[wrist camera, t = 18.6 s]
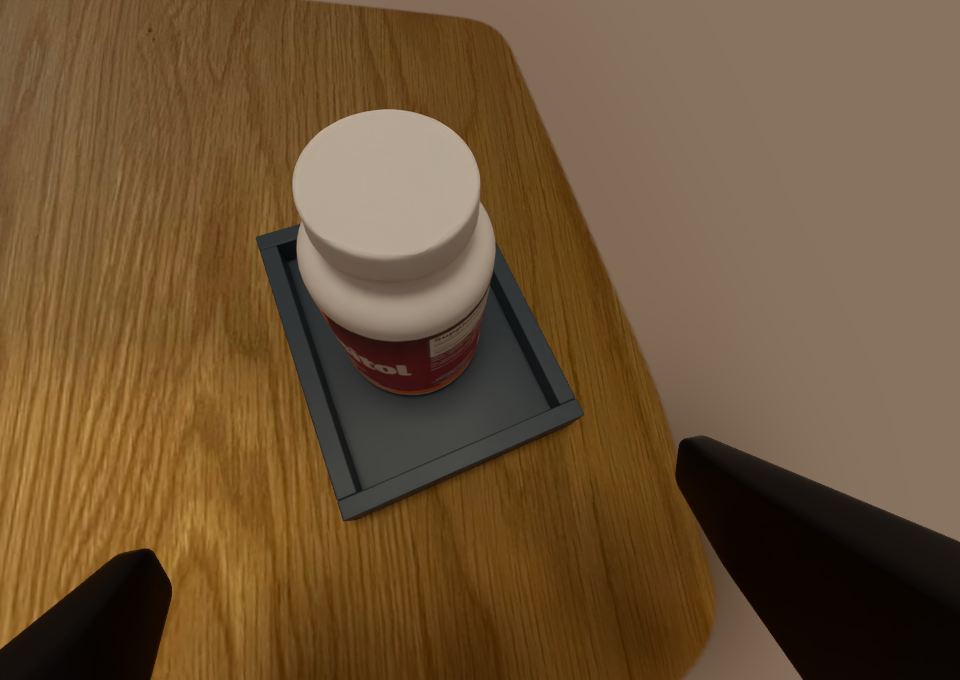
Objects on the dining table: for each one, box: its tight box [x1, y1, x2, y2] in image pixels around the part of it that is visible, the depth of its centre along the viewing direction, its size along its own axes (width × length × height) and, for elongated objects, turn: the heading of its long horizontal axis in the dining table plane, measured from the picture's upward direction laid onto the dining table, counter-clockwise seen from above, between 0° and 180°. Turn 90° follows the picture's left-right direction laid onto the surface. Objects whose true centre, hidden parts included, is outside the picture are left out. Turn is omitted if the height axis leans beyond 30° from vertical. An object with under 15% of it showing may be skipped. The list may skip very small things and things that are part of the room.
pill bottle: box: [292, 109, 496, 395], centre depth 16 cm, size 6×6×11 cm
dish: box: [256, 224, 584, 521], centre depth 21 cm, size 14×11×2 cm
